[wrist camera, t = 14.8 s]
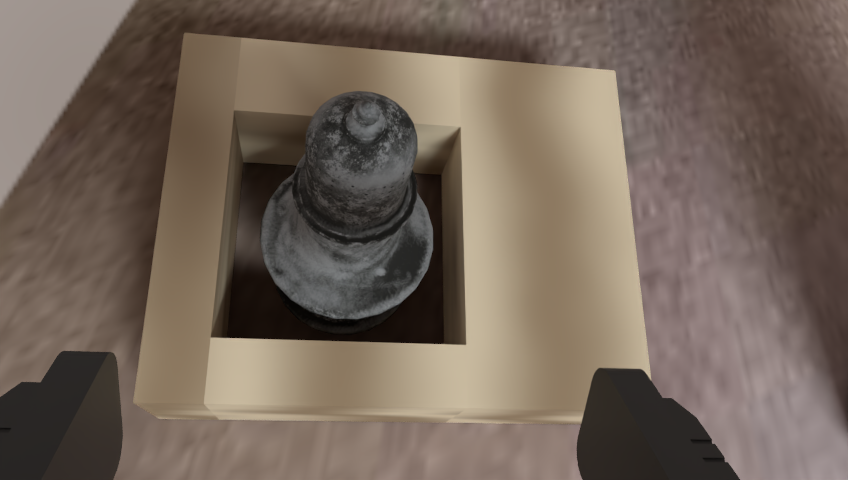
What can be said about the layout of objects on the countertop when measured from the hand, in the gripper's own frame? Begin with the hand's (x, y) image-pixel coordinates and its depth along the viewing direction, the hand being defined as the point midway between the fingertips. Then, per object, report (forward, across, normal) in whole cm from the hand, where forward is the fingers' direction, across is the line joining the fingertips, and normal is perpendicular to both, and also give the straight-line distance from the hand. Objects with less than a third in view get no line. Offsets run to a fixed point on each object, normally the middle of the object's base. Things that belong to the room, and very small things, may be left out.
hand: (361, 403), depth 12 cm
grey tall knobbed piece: (+15, 0, +5) cm, 16 cm away
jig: (+15, -2, +4) cm, 16 cm away
